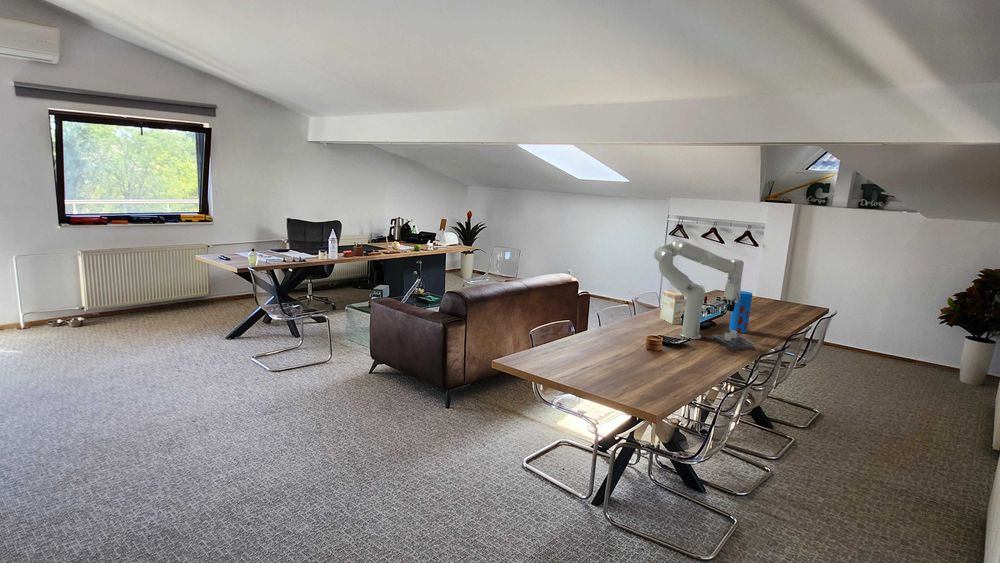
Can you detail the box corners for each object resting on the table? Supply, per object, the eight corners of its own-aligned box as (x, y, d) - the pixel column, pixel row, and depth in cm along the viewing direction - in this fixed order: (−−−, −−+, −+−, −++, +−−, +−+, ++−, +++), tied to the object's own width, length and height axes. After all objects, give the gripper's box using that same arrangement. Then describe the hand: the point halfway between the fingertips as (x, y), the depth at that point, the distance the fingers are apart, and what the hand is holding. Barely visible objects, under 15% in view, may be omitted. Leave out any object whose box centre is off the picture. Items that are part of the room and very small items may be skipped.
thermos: (729, 327, 362) (734, 289, 357) (747, 330, 357) (752, 292, 353) (728, 331, 352) (733, 292, 347) (746, 334, 348) (752, 295, 343)
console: (710, 338, 334) (711, 332, 333) (732, 338, 336) (733, 332, 335) (731, 349, 312) (732, 343, 312) (754, 349, 315) (755, 343, 314)
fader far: (729, 336, 330) (730, 329, 329) (733, 336, 330) (734, 330, 329) (732, 338, 327) (733, 331, 326) (736, 338, 327) (737, 331, 326)
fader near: (724, 339, 324) (725, 332, 323) (727, 339, 324) (728, 332, 324) (726, 340, 321) (727, 333, 320) (730, 340, 321) (731, 333, 321)
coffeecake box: (681, 324, 363) (684, 295, 360) (671, 324, 361) (675, 295, 358) (668, 318, 377) (671, 290, 374) (659, 318, 375) (662, 290, 372)
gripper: (721, 277, 336) (717, 307, 339) (735, 283, 321) (731, 314, 324) (732, 278, 337) (728, 307, 340) (747, 283, 322) (743, 314, 325)
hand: (730, 310), depth 332 cm, fingers closed
